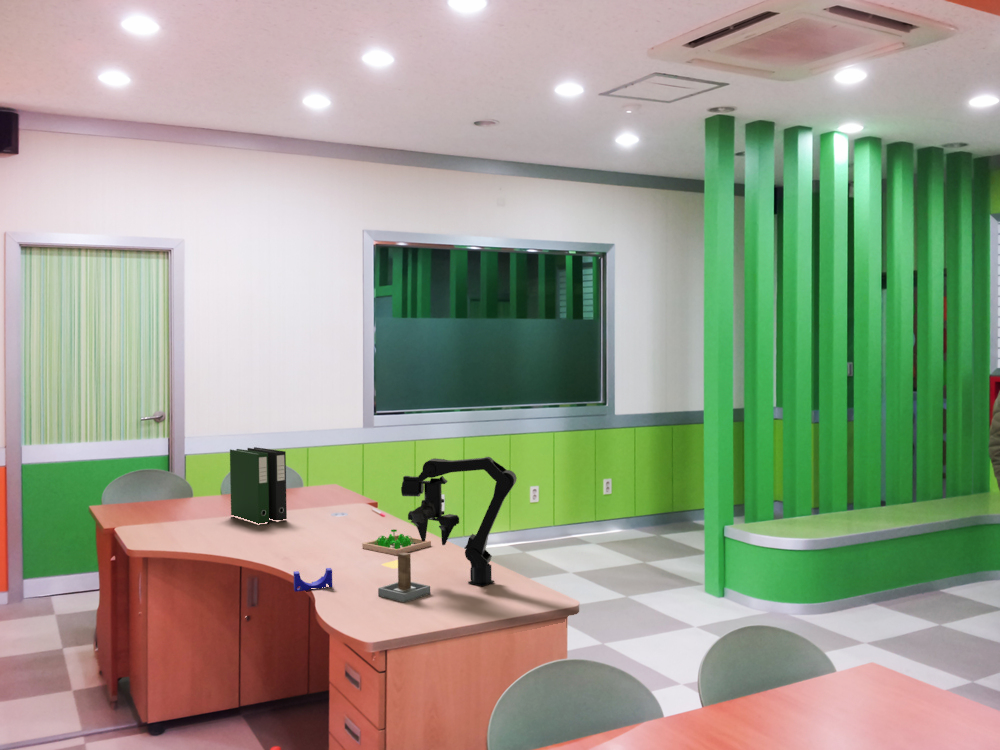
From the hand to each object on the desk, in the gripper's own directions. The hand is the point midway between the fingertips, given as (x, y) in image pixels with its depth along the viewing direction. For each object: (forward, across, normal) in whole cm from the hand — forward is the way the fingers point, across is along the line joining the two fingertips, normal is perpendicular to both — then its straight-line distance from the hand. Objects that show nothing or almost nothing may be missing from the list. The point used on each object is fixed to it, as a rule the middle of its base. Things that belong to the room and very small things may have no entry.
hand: (433, 543), depth 285 cm
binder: (+13, -139, +30) cm, 143 cm away
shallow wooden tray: (+13, -46, +28) cm, 55 cm away
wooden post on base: (+12, +3, -17) cm, 21 cm away
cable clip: (+14, -27, -29) cm, 42 cm away
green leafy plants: (+14, -48, +28) cm, 57 cm away
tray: (+13, +3, -17) cm, 22 cm away
